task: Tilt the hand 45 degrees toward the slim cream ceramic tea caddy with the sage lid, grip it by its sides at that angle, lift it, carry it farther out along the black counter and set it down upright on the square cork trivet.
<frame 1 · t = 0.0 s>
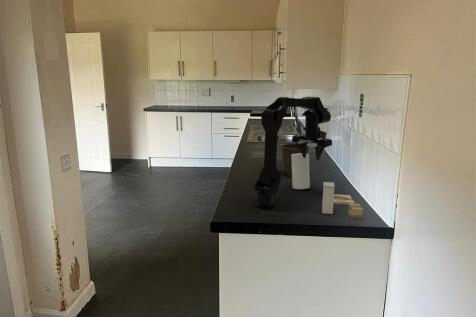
hand: (311, 159, 162), 16 cm above the worktop, tool pointing down, fingers open, 7 cm apart
tea caddy: (327, 210, 142), on the worktop
trivet: (340, 200, 155), on the worktop
oak block: (355, 216, 137), on the worktop
cup: (301, 187, 171), on the worktop, touching gripper
plant pot: (294, 175, 194), on the worktop
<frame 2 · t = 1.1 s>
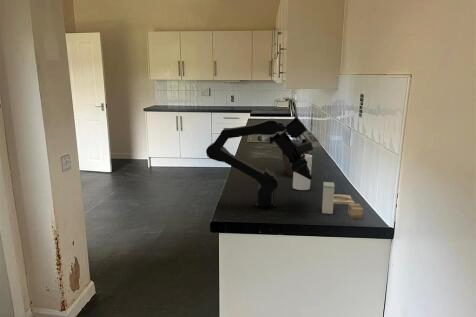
hand: (310, 175, 142), 14 cm above the worktop, tool tilted 40°, fingers open, 9 cm apart
cup: (301, 188, 171), on the worktop
everything else where it was.
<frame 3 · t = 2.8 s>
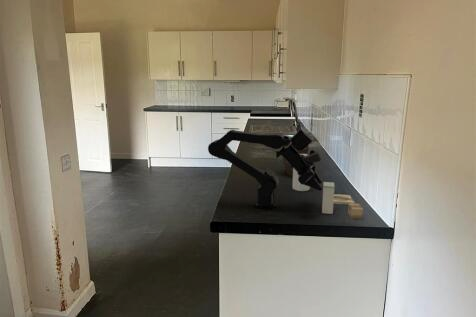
hand: (321, 186, 140), 10 cm above the worktop, tool tilted 45°, fingers open, 9 cm apart
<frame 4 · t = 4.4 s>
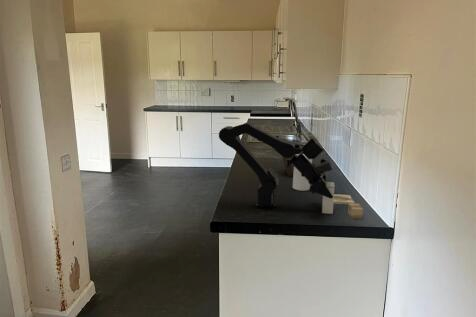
hand: (331, 195, 140), 7 cm above the worktop, tool tilted 45°, fingers closed on tea caddy, 5 cm apart
tea caddy: (327, 210, 142), on the worktop, touching gripper
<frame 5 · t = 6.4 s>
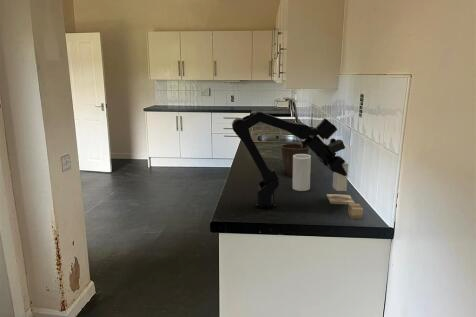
hand: (343, 173, 146), 14 cm above the worktop, tool tilted 45°, fingers closed on tea caddy, 5 cm apart
tea caddy: (339, 188, 147), point 7 cm above the worktop, touching gripper
when the fingers open (8 cm above the worktop, at t = 8.2 s): tea caddy stays where it is, resting on trivet.
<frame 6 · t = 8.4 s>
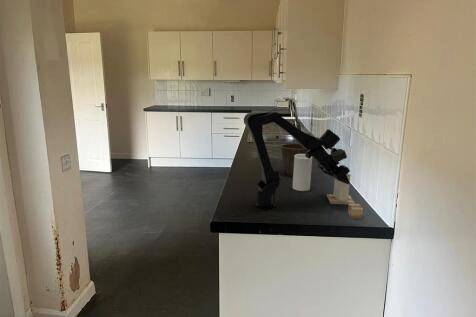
hand: (344, 181, 153), 9 cm above the worktop, tool tilted 45°, fingers open, 7 cm apart
tea caddy: (340, 198, 154), point 1 cm above the worktop, touching trivet
everything else where it was.
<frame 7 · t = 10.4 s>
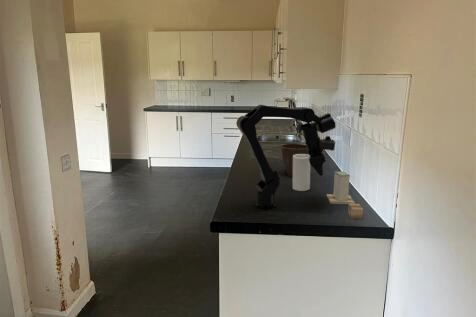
hand: (320, 171, 150), 13 cm above the worktop, tool tilted 20°, fingers open, 9 cm apart
nothing on the worktop moved.
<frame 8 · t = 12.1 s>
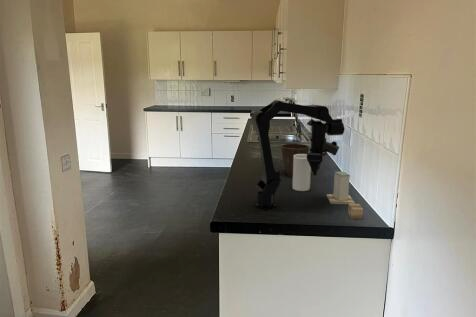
hand: (316, 172, 150), 13 cm above the worktop, tool pointing down, fingers open, 9 cm apart
at the end: tea caddy inside the target area on the trivet (0.0 cm from its centre), point 0.9 cm above the trivet's base; tea caddy tilted 0°; the gripper is holding nothing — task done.
